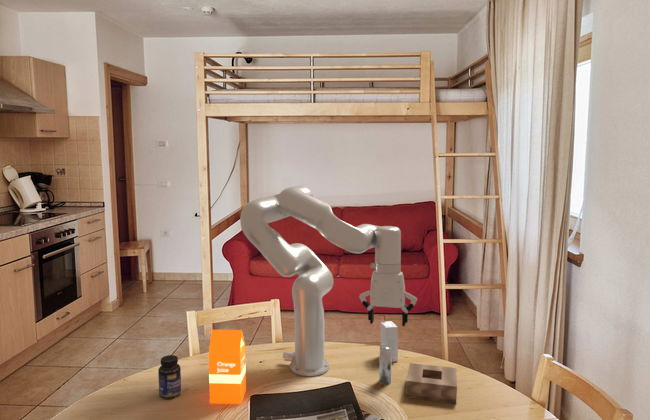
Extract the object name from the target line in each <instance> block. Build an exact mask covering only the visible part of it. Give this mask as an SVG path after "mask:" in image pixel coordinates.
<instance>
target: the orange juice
mask: <svg viewBox="0 0 650 420" xmlns="http://www.w3.org/2000/svg"><path fill="white" fill-rule="evenodd" d="M243 334H244V333H243V330H242V329H211V333H210V342H209V349H208V372H209V373H208V383H209V384H208V385H209V404H220V405H222V404H227V405H231V404H232V405H241V404H242V402H243V400H244V396H245V394H246V392H247V378H246V377H247V372H246V371H247V370H246V369H247V366H246V343H245V339H244V335H243Z"/></svg>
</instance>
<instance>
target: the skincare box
mask: <svg viewBox="0 0 650 420" xmlns="http://www.w3.org/2000/svg"><path fill="white" fill-rule="evenodd" d="M398 330H399V329H398V326H397V325H396V324H395V323H394V322H393V321H391V320H389V321H388V320H387V321H381V322H380V346H381V345H389V346H391V347H392V362H391V363H396V362H398V361H399V355H398V354H399V347H398V345H399V343H398V341H399V336H398V334H399V332H398Z"/></svg>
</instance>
